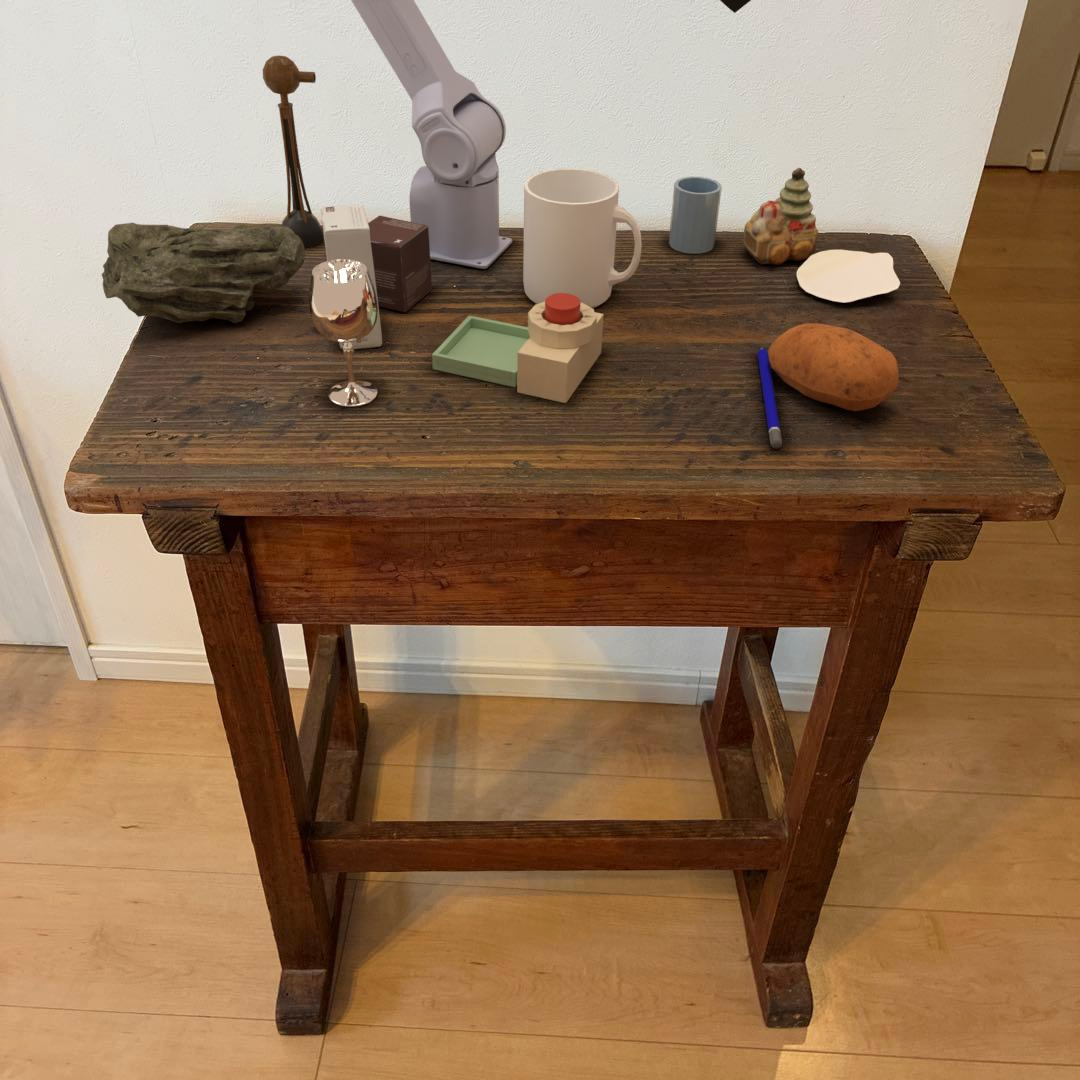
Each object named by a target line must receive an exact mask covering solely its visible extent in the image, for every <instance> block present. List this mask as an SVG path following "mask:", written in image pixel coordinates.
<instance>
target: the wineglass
mask: <svg viewBox="0 0 1080 1080" xmlns="http://www.w3.org/2000/svg"><path fill="white" fill-rule="evenodd" d="M308 298H309V299H308V305H309V306H308V307H309V313H310V318H311V321H312V323H313V326H314V328H315V329H316V331H317V332H318V333H319V334H320V335H321V336H322V337H324V338H325V339H327V340H328V341H329V340H330V341H332V342H335V343H339V342H342V343H343V349H342V353H343V356H344V357H345V362H346V364H347V373H348V380H344V381H341V382H339V383H336V384H334V385H333V386H331V388H330V389H329V391H328V393H327V395H328V399H329V400H330V402H331V403H334V404H335V405H338V406H342V407H349V408H350V407H351V408H352V407H360V406H364V405H368V404H369V403H371V402H373V401H374V400H375V399H376V398H377V396H378V393H379V392H378V391H379V390H378V388H377V387H376V385H374V384H373V383H371V382H369V381H366V380H360V379H355V374H354V365H353V362H354V355H355V349H354V347H353V344H352V342H354V341H357V340H360V339H362V338H364V337H365V336H367V335H368V334H369V333H370V332H371V331H372V330H373V328H374V326H375V324H376V320H377V313H378V307H379V306H377V298H376V294H375V290H374V286H373V283H372V280H371V278H370V275H369V272H368V269H367V267H366V266H365V265H364V264H363V263H361V262H358V261H355V260H348V259H337V260H330V261H327V260H326V261H323V262H321V263H319V264H317V265H315V266H314V267H313V269H312V271H311V277H310V284H309V297H308Z"/></svg>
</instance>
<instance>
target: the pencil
mask: <svg viewBox="0 0 1080 1080" xmlns="http://www.w3.org/2000/svg"><path fill="white" fill-rule="evenodd" d="M757 359H758V361H757V362H758V368H759V373H760V381H761V386H762V387H761V388H762V389H761V390H762V394H763V396H762V397H763V401H764V409H765V415H766V416H765V417H766V423H767V428H768V437H769V443H770V444H769V445H770V446H771V448H772V449H774V450H777V449H780V448H782V446H783V439H782V433H781V427H780V422H779V413H778V408H777V402H776V396H775V389H774V382H773V376H772V371H771V369H772V368H771V364H770V361H769V355H768V350H767V349H766V348H764V347H760V349H759V350H758V351H757Z"/></svg>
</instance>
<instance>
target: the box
mask: <svg viewBox="0 0 1080 1080" xmlns="http://www.w3.org/2000/svg"><path fill="white" fill-rule="evenodd" d="M368 225H369V228H370V241H371V249H372V257H373V265H374V273H375V282H376V290H377V299H378V307H379V308H383V309H384V308H385V309H390V310H393V311H397V312H402V313H407V311H409V310H410V309H411V308H412V307H413V306H415V305H416V304H417V303H418V302H419V301H420V300H422V299H423V298H424V297H425V296H426V295H428V294H429V293H430V292H431V291H432V290H433V282H432V281H433V279H432V265H431V264H432V263H431V259H430V245H429V230H428V225H423V224H418V223H413V222H411V221H408V220H403V219H398V218H393V217H390V216H389V217H388V216H384V215H378V216H376V217H375V218H373V219H372V220H370V221H368Z"/></svg>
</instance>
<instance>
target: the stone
mask: <svg viewBox="0 0 1080 1080" xmlns="http://www.w3.org/2000/svg"><path fill="white" fill-rule="evenodd" d="M305 249H306V248H304V245H303V242H302V240H301V239H300V238H299V236H297V235H295V233H294V232H293V231H292V230H291V229H290V228H289V227H287V226H283V227H281V225H279V226H278V225H272V224H271V225H267V224H266V225H263V226H256V227H253V226H249V225H246V224H239V225H235V226H233V227H232V228H229V229H226V230H224V229H216V228H215V229H213V228H212V229H211V228H210V229H203V228H200V227H197V226H193V227H187V228H185V227H178V226H174V225H170V224H142V223H141V224H140V223H136V222H127V223H119V224H118V223H117V224H114V225H113V226H112V227H111V228H110V229H109V231H108V233H107V249H106V250H107V251H106V252H107V255H108V257H106V258H107V259H106V261H105V262H104V263H103V265H102V268H103V272H102V273H101V277H102V289H103V293H104V295H105V298H106V299H113V298H118V299H119V300H121V302H122V303H123V304H124V305H125V306H126V308H127V309H128V310H129V311H131V312H132V313H133V314H134V315H136V317H137V318H140V317H158V318H159V317H160V318H162V319H165V320H167V321H171V322H174V323H178V324H181V323H182V324H183V323H188V322H205V321H208V320H210V319H219V320H226V321H230V322H232V324H238V323H239V322H242V321H243V320H244V318H245V316H246V312H247V311H251V310H252V309H253V308H254V305H255V300H254V297H253V291H254V292H264V293H266V294H272V293H274V292H275V291H276V290H278V289H279V288H282V287H284V286H285V285H287V284H288V282H289V281H290V279H291V278H292V277H293V276H294V275H295V274H296V273H298V272H299V270H300V269H301V268H302V267H303V264H304V261H305V258H306V252H305Z"/></svg>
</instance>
